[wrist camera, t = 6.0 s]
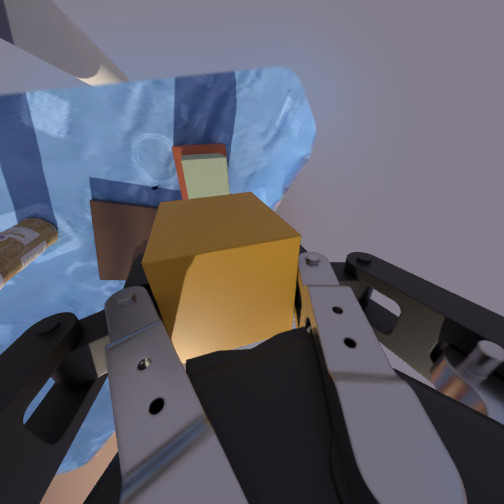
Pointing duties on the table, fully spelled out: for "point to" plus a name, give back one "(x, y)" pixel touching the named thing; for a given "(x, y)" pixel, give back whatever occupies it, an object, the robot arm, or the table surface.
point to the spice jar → (23, 245)
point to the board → (120, 235)
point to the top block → (221, 272)
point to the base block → (189, 150)
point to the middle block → (205, 175)
